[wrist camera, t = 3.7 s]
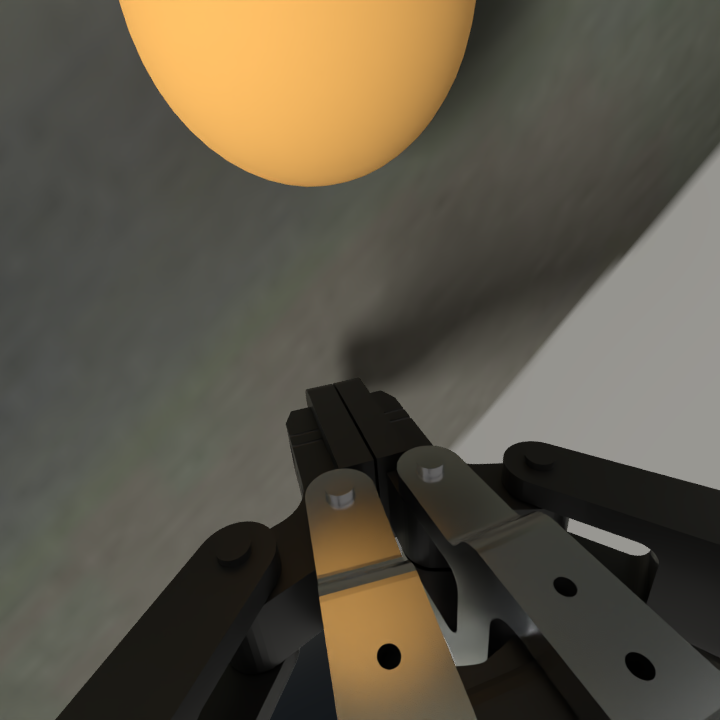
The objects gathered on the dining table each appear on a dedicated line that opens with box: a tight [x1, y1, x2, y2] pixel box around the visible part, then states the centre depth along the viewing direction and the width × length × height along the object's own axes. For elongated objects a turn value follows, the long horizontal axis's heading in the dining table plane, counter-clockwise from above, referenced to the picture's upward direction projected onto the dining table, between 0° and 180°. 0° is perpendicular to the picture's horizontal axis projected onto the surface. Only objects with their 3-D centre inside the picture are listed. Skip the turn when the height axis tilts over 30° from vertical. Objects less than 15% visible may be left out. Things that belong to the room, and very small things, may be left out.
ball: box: [119, 0, 476, 187], centre depth 7 cm, size 6×6×6 cm
